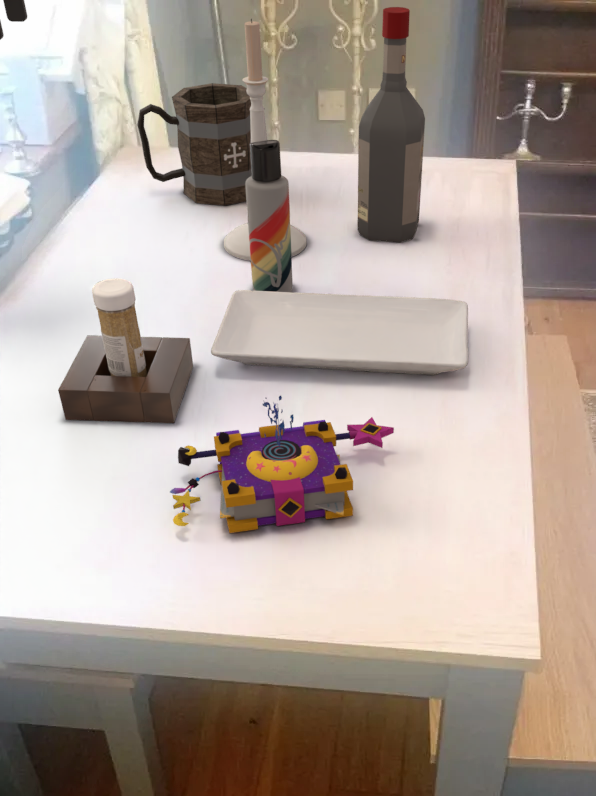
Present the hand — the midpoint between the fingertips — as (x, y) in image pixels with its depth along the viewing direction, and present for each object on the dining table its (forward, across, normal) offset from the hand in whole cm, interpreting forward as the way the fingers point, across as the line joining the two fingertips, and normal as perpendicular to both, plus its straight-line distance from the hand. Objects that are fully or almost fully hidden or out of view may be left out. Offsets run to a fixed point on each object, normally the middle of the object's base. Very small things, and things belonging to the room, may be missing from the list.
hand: (6, 30), depth 102 cm
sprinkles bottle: (+33, +22, +14) cm, 42 cm away
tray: (+33, +10, +39) cm, 52 cm away
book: (+33, +40, +35) cm, 63 cm away
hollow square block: (+33, +22, +14) cm, 42 cm away
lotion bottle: (+33, -6, +28) cm, 44 cm away
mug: (+33, -43, +12) cm, 56 cm away
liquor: (+33, -28, +44) cm, 62 cm away
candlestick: (+33, -22, +25) cm, 47 cm away
